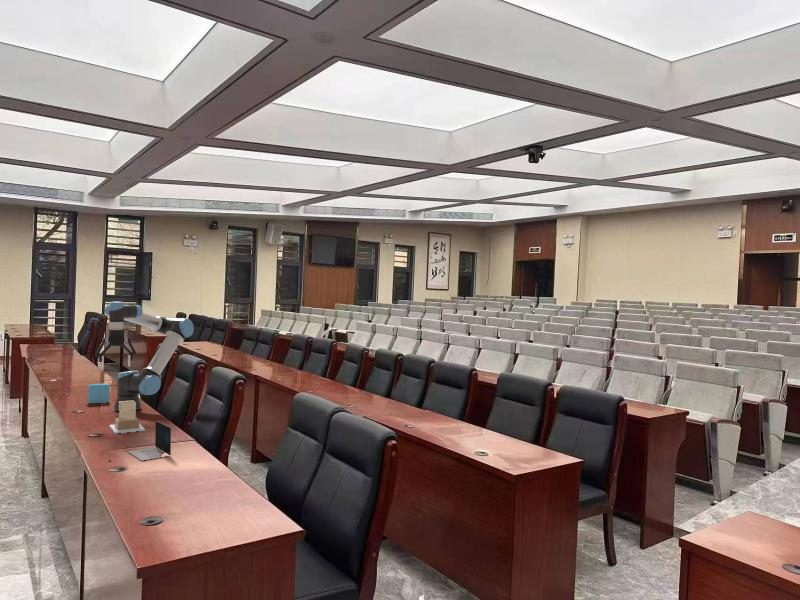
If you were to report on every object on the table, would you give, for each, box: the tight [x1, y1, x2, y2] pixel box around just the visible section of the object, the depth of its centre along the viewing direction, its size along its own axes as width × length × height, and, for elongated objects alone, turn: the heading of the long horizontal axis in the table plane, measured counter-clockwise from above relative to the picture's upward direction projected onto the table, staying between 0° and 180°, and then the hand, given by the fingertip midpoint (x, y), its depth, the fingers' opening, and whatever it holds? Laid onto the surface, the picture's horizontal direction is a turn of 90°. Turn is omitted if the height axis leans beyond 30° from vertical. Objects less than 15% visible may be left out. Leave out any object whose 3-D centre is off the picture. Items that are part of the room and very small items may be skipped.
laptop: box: [127, 420, 172, 462], centre depth 262 cm, size 18×12×13 cm
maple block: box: [118, 400, 137, 421], centre depth 308 cm, size 7×7×9 cm
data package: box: [87, 383, 111, 404], centre depth 372 cm, size 12×4×12 cm, turn 119°
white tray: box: [109, 416, 146, 435], centre depth 308 cm, size 18×14×5 cm
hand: (115, 367), depth 330 cm, fingers open, 13 cm apart
